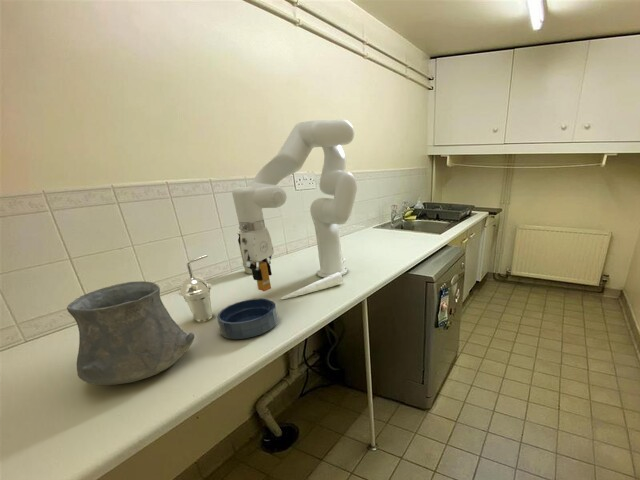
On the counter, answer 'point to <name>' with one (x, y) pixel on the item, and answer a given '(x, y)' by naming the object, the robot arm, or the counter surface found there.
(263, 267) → the supplement box
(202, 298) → the cup with straw
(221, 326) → the bowl
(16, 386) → the counter surface
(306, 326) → the counter surface
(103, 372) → the vessel
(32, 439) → the counter surface
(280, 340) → the counter surface
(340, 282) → the unicorn horn
